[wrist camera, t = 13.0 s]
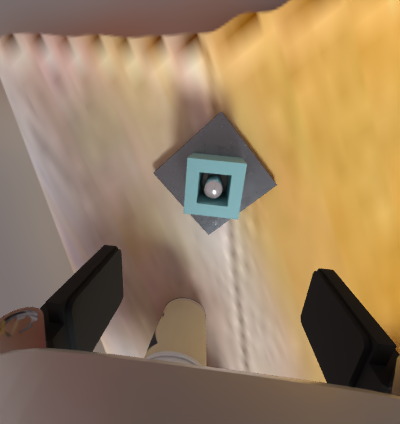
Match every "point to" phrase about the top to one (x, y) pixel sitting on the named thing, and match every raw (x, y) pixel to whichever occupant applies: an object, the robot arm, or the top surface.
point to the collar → (226, 202)
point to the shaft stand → (215, 183)
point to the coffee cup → (180, 334)
